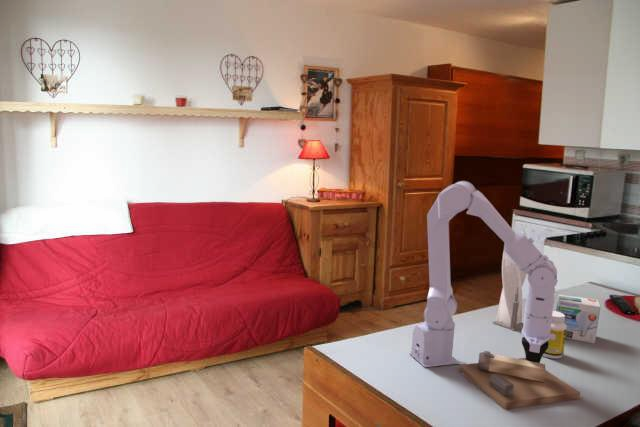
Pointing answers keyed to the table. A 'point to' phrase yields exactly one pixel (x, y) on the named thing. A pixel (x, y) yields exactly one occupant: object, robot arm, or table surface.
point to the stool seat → (519, 387)
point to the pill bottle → (556, 336)
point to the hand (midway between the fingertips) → (531, 370)
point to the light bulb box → (579, 317)
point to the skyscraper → (510, 295)
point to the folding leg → (511, 366)
